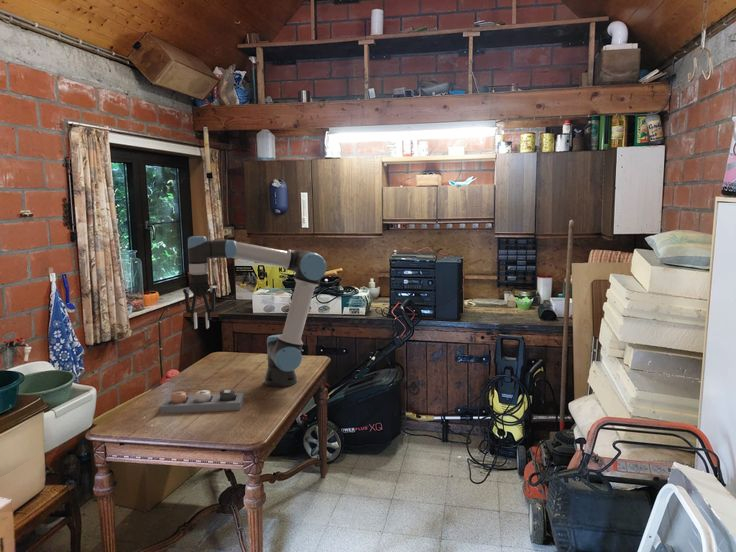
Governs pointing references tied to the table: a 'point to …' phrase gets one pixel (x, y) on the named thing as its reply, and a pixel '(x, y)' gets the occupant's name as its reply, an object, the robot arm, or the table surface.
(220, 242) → the robot arm
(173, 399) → the button terracotta
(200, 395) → the button white
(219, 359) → the table surface
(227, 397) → the button black
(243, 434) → the table surface
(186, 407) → the panel
